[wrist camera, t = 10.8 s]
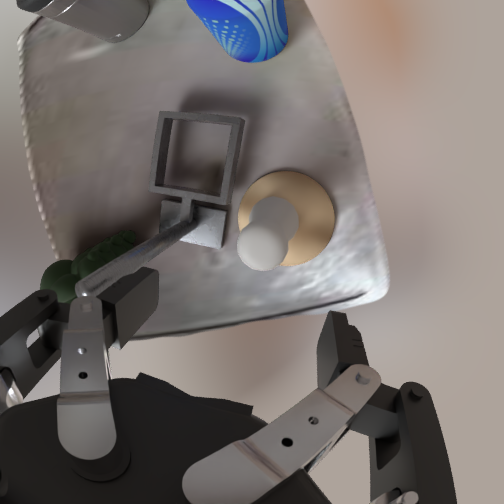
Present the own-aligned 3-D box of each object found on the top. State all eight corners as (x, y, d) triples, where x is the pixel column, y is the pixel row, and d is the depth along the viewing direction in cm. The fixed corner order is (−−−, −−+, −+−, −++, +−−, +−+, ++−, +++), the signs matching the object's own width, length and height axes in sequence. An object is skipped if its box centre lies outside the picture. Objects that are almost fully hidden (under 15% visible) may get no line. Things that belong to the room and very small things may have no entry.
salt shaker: (263, 186, 34) (242, 200, 22) (306, 206, 34) (309, 232, 21) (245, 228, 36) (215, 264, 24) (286, 247, 36) (278, 293, 24)
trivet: (247, 162, 34) (246, 162, 33) (343, 183, 33) (344, 183, 32) (232, 253, 38) (231, 254, 37) (321, 273, 37) (321, 274, 36)
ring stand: (173, 115, 33) (46, 86, 13) (247, 122, 32) (167, 71, 12) (158, 232, 39) (45, 301, 18) (226, 248, 38) (145, 346, 17)
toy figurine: (144, 205, 40) (54, 269, 45) (59, 232, 22) (-15, 308, 26) (173, 260, 42) (77, 311, 47) (108, 320, 23) (16, 362, 28)
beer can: (302, 41, 27) (300, -30, 13) (252, 78, 30) (215, 23, 15) (259, 5, 26) (232, -66, 11) (211, 40, 29) (158, -18, 14)
